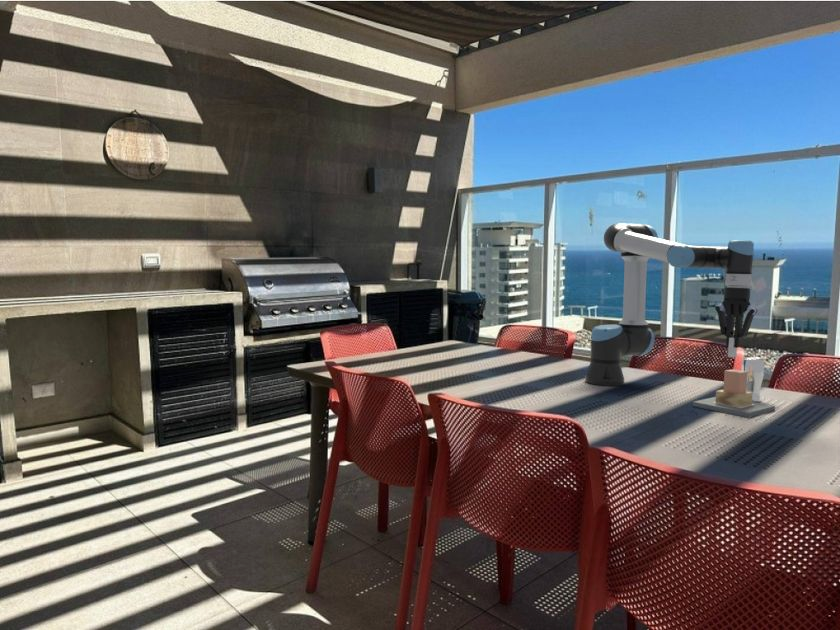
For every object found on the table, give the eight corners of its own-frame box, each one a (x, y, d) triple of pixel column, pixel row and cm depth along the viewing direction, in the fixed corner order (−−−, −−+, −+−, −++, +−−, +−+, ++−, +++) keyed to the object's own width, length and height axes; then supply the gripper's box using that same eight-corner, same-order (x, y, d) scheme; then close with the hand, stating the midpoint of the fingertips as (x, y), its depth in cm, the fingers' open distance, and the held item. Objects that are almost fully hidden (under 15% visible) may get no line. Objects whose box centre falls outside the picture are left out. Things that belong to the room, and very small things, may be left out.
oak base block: (715, 402, 190) (716, 390, 190) (727, 399, 195) (727, 388, 195) (740, 407, 184) (740, 395, 183) (751, 404, 188) (752, 392, 188)
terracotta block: (723, 391, 189) (724, 370, 189) (730, 389, 192) (732, 369, 192) (738, 394, 185) (740, 372, 185) (746, 392, 188) (747, 371, 188)
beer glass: (759, 398, 205) (762, 357, 204) (764, 402, 198) (767, 360, 197) (737, 397, 207) (740, 356, 206) (741, 401, 201) (744, 359, 200)
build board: (692, 406, 192) (692, 401, 191) (719, 399, 202) (719, 395, 202) (748, 417, 177) (748, 412, 177) (774, 410, 187) (774, 405, 187)
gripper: (712, 285, 192) (707, 354, 194) (752, 288, 182) (746, 360, 184) (723, 285, 196) (718, 353, 199) (763, 288, 186) (757, 359, 188)
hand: (731, 356), depth 191 cm, fingers closed
